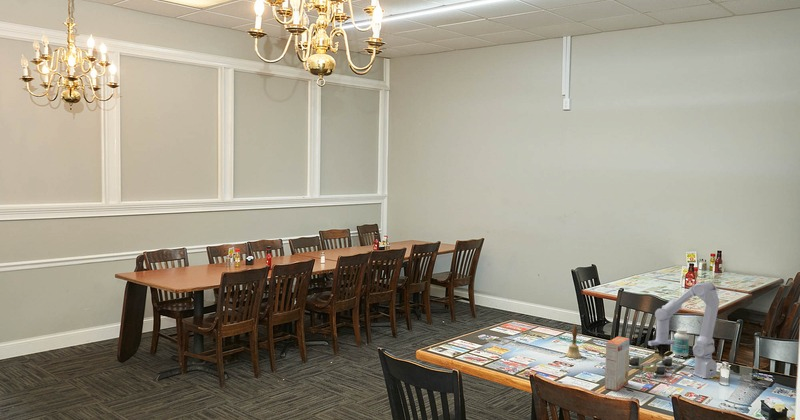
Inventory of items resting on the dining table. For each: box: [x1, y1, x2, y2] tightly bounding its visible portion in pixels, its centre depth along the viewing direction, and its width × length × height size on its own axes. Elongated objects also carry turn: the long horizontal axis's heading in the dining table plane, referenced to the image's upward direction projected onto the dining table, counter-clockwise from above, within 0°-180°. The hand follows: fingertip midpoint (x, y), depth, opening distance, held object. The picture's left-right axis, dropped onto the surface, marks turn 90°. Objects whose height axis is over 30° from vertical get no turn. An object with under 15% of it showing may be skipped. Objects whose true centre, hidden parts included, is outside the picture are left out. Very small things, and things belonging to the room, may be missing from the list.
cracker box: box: [604, 336, 630, 392], centre depth 285 cm, size 14×6×21 cm, turn 141°
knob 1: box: [629, 355, 640, 366], centre depth 315 cm, size 11×5×4 cm, turn 65°
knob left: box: [642, 363, 666, 374], centre depth 300 cm, size 11×5×4 cm, turn 105°
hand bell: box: [564, 325, 583, 359], centre depth 329 cm, size 8×8×16 cm
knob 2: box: [653, 353, 673, 366], centre depth 317 cm, size 11×5×4 cm, turn 19°
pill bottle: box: [672, 328, 690, 358], centre depth 335 cm, size 8×7×14 cm
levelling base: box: [629, 362, 674, 378], centre depth 309 cm, size 20×21×2 cm
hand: (661, 358), depth 319 cm, fingers closed, pressing on knob 2
